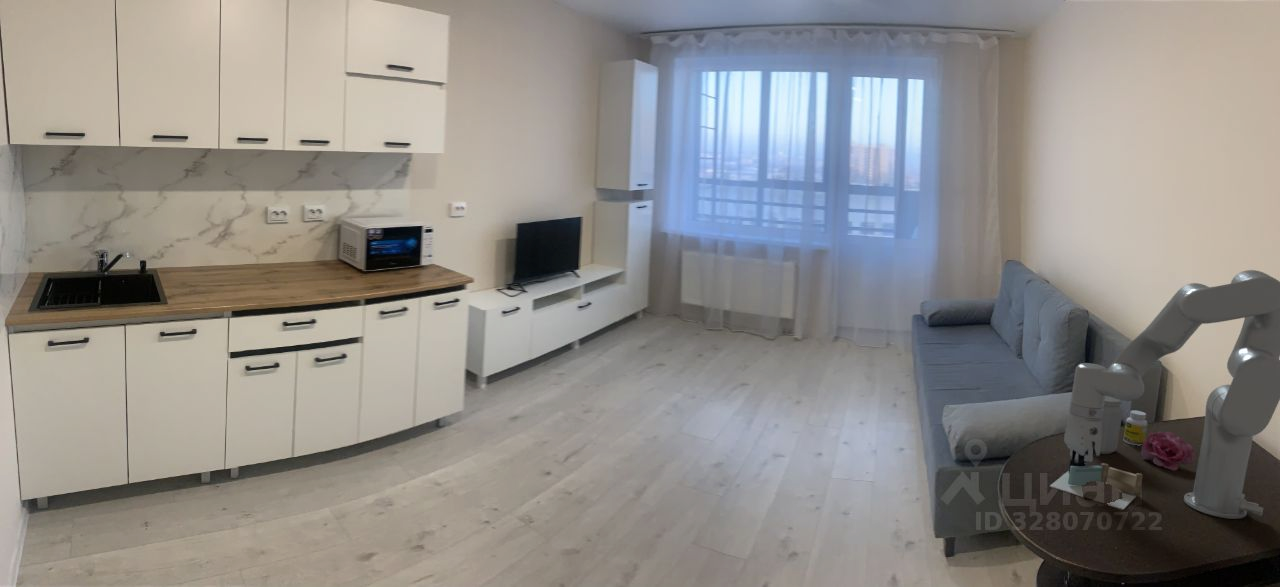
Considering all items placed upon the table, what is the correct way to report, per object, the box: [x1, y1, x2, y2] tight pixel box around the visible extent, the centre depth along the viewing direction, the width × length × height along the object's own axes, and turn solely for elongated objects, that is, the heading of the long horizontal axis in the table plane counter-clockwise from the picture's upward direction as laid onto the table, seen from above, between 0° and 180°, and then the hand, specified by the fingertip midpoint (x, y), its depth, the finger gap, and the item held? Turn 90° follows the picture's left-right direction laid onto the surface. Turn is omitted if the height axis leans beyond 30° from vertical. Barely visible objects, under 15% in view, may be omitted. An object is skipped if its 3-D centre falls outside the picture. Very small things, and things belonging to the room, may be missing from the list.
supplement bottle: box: [1122, 409, 1148, 447], centre depth 230 cm, size 5×5×10 cm
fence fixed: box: [1100, 462, 1143, 498], centre depth 197 cm, size 9×2×6 cm, turn 44°
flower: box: [1140, 431, 1195, 471], centre depth 215 cm, size 11×10×10 cm
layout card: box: [1049, 470, 1137, 511], centre depth 198 cm, size 17×15×1 cm
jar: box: [1100, 396, 1123, 455], centre depth 224 cm, size 10×10×18 cm
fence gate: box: [1068, 465, 1102, 485], centre depth 199 cm, size 9×1×5 cm, turn 97°
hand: (1075, 475), depth 202 cm, fingers closed
